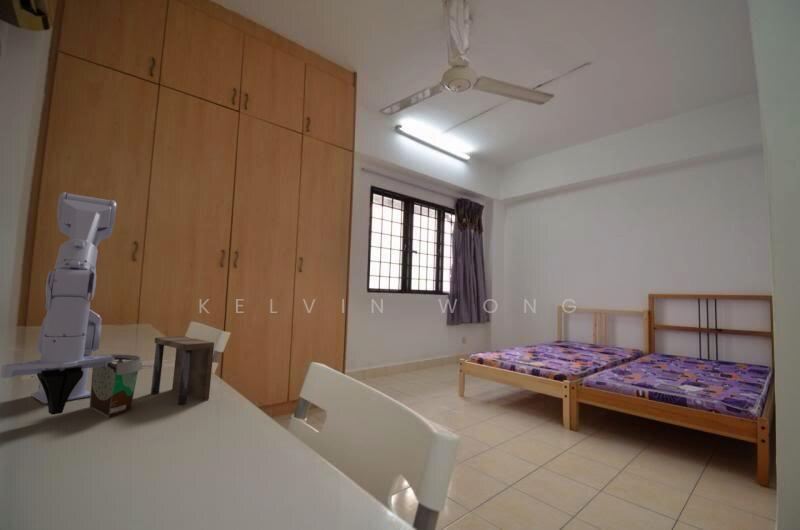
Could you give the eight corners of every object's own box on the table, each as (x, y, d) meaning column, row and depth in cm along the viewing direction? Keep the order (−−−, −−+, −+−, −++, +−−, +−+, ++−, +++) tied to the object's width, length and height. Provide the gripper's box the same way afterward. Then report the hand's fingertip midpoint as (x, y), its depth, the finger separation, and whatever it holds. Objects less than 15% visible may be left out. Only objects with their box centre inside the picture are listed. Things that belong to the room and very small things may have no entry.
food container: (149, 411, 71) (155, 359, 72) (112, 419, 66) (118, 363, 67) (122, 399, 78) (128, 352, 79) (86, 405, 73) (92, 355, 73)
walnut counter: (148, 393, 83) (155, 337, 84) (176, 388, 88) (181, 336, 89) (180, 405, 75) (186, 344, 76) (208, 399, 80) (214, 342, 81)
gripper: (14, 340, 57) (1, 429, 56) (122, 334, 69) (113, 407, 68) (2, 336, 61) (-10, 419, 60) (107, 331, 73) (99, 400, 72)
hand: (55, 412), depth 64 cm, fingers closed
